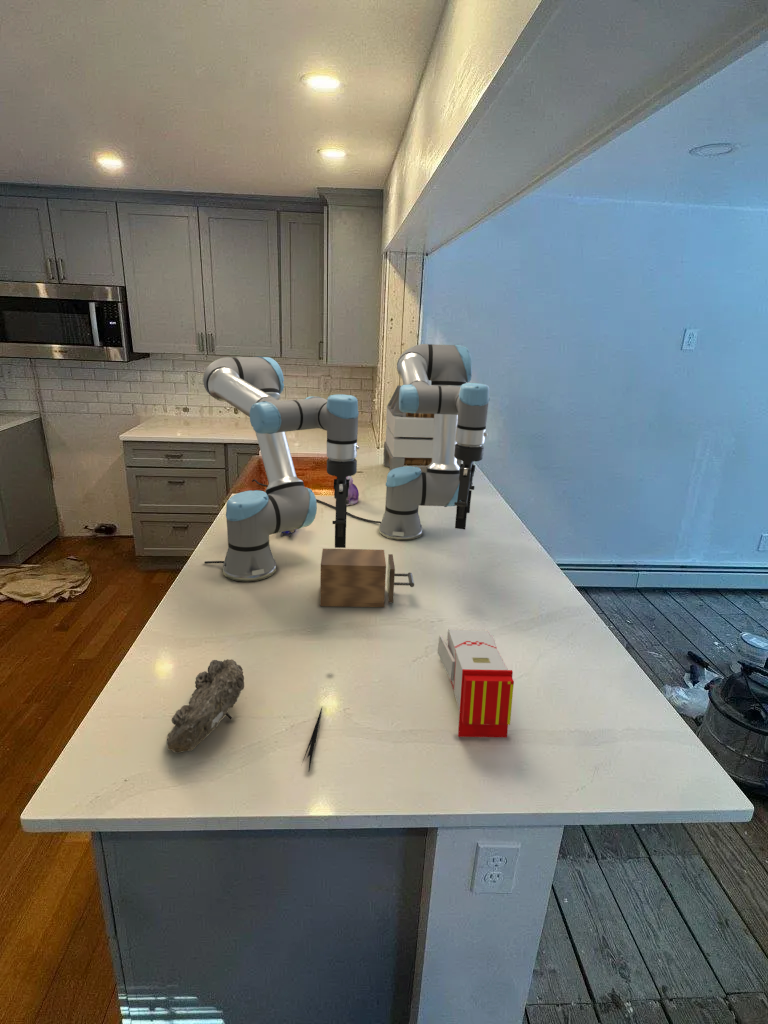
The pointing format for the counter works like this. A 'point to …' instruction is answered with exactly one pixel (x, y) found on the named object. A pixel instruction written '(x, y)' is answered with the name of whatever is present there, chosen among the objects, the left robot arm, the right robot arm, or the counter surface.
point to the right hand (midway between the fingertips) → (462, 520)
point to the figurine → (352, 492)
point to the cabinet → (352, 578)
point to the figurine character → (288, 532)
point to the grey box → (407, 437)
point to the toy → (478, 682)
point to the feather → (313, 740)
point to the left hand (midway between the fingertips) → (340, 537)
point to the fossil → (206, 705)
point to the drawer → (391, 576)
